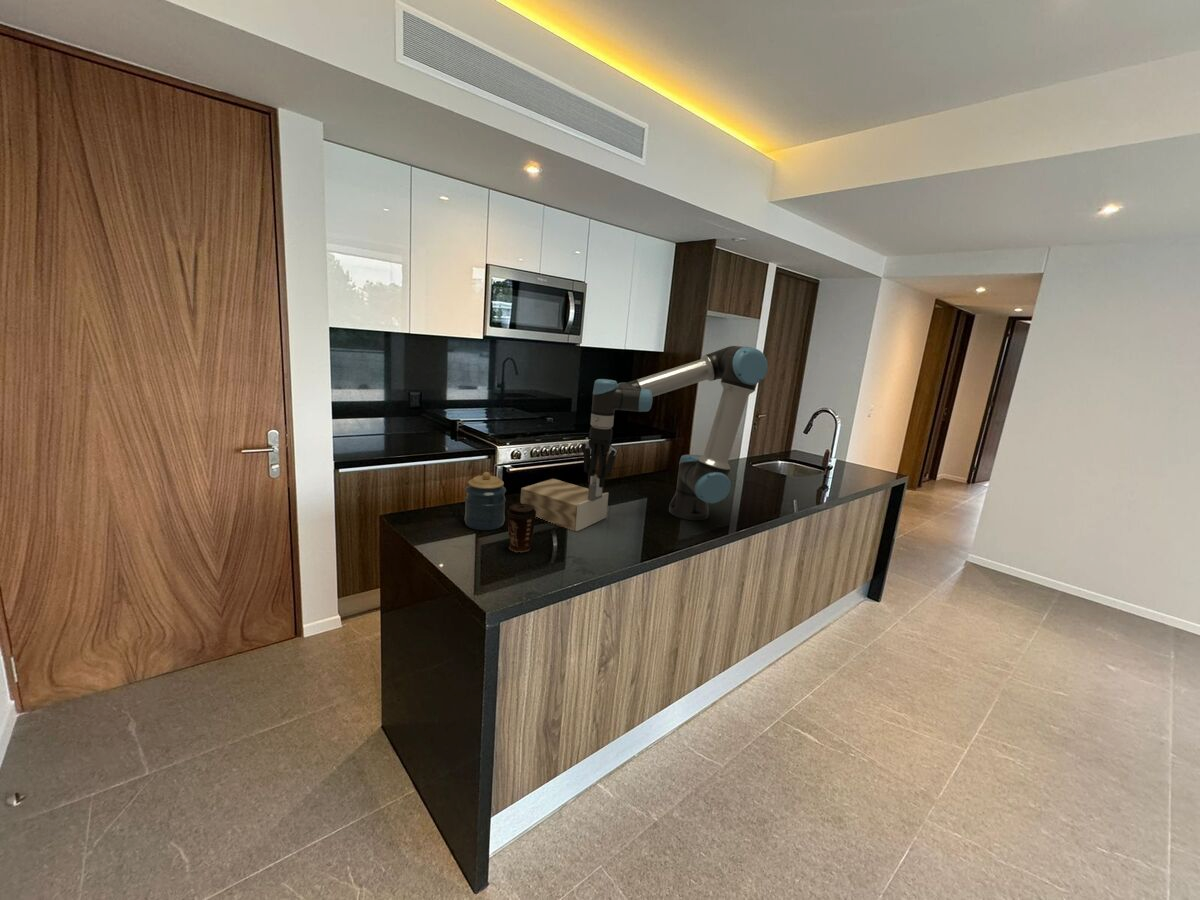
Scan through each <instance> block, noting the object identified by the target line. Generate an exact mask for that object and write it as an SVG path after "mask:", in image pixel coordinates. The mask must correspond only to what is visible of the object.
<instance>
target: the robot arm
mask: <svg viewBox="0 0 1200 900" xmlns="http://www.w3.org/2000/svg"><path fill="white" fill-rule="evenodd" d="M768 368H769V363H768V359H767V358H766V355H765V354H764V353H763V352H762V351H761V350H760V349H757V348H755V347H751V346H739V345H732V346H731V345H729V346H727V347H726V346H725V347H723V348H720V349H718V350H716V351H713V352H710V353H707V354H704V355H702V357H701V359H697V360H695V361H691V362H689V363H685V364H682V365H678V366H675V367H673V368H669V369H666V370H663V371H660V372H657V373H653V374H651V375H648V376H643V377H641V378H637V379H635V380H631V381H628V382H619V383H618V382H617V380H613V379H607V378H598V379H596V380H594V383H593V389H592V390H593V391H592V402H591V403H592V404H591V414H590V427H589V439H588V442H584V443H582V444H581V448H582V453H583V455H582V456H583V471H584V473H587V474H588V482H587V483H588V485H589V484H592V483H595V482H597V483H596V494H595V496H596V497H598V496H601V495H602V493H603V491H602V487H603V488H604V487H605V484H606V483H605V482H606V479H607V478H609V477H611V475H612V472H613V467H614V463H615V460H616V456H617V455H618V452H619V450H618V449H616V448H614V447H613V444H612V438H613V427H614V419H615V412H616V411H629V412H638V413H642V412H643V413H644V412H647V413H648V412H649V411H650V410H651V409H652V405H653V397H656V396H659V395H662V394H666V393H668V392H673V391H676V390H678V389H682V388H685V387H688V386H690V385H694V384H697V383H700V382H704V381H709V382H713V381H716V380H720V384H721V386H722V392H721V395H720V398H719V402H718V405H717V409H716V412H715V416H714V419H713V422H712V425H711V426H712V427H711V429H710V432H709V436H708V439H707V442H706V446H705V448H704V449H705V450H704V453H703V455H700V454H683V455H681V457H680V460H679V461H678V462H679V463H678V465H679V466H678V472H677V478H676V479H677V482H676V486H675V487H676V490H675V493H674V495H673V498H672V499H671V501H670V503H669V507H668V513H670V515H672V516H674V517H676V518H679V519H683V520H688V521H704V520H706V519H708V518H709V516H710V515H709V514H710V509H709V504H716V503H719V502H720V501H723V500H724V499H725V498H726V497H728V495H729V493H730V491H731V485H732V484H731V481H730V479H729V475H730V471H731V466H730V464H729V460H730V456H731V453H732V449H733V446H734V444H735V441H736V436H737V434H738V431H739V427H740V424H741V420H742V417H743V415H744V411H745V409H746V404H747V401H748V398H749V396H750V395H751V394H752V393H754V392H756V388H757V385H758V383H760V382H761V381H763V380H764V379H765V377H766V375H767V374H768V373H767V372H768V370H769V369H768ZM598 459H599V462H598ZM598 463H599V467H598V473H599V474H598V475H597V472H596V471H597V464H598Z"/></svg>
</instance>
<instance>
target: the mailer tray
mask: <svg viewBox="0 0 1200 900" xmlns="http://www.w3.org/2000/svg"><path fill="white" fill-rule="evenodd" d="M596 483H597V481H596V482H595V483H592V484H588V489H589V492H588V500H586V501H584V502H581V503H579V504H577V515H576V526H575V531H574V532H579V531H582V530H584V529H585V528H587V527H589V526H592V525H593V524H595V523H598V522H600V521H602V520H603V519H606V518H607V515H608V503H609V496H610V495H609V494H610V493H609V492H603V491H604V487H602V492H603V493H604V494H602V495H601V496H598V497H596V496H595V494H596Z"/></svg>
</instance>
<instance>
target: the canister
mask: <svg viewBox="0 0 1200 900" xmlns="http://www.w3.org/2000/svg"><path fill="white" fill-rule="evenodd" d="M467 483H468V485H467V486H466V487H465V488H464V489H465V490H464V491H465V492H466V496H465V497H464V501H465V504H464V506H465V508H464V510H465V512H464V523H465V526H466V527H468V528H470V529H473V530H478V531H492V530H497V529H499V528H502V527H503V526H504V524H505V520H506V516H505V513H506V512H505V510H506V501H507V500H506V497H505V494H506V492H507V489H506V487H504V484H505V483H504V481H503V480H502V479H500V478H499V477H498V476H495V475H491V473H490V472H489V471H484V472H483V473H482V475H477V476H474V477H473V478H471V479H469V480H468V482H467Z"/></svg>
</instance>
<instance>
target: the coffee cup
mask: <svg viewBox="0 0 1200 900" xmlns="http://www.w3.org/2000/svg"><path fill="white" fill-rule="evenodd" d="M506 516H507V522H508V523H507V529H508V530H507V531H508V537H509V541H510V542H509V543H510V544H509V546H508V549H509V550H510V551H512V552H513V551H514V552H513V553H518V552H520V553H526V552H529V551H530V550H531V549H532V541H533V537H534V532H535V523H536V521H535V520H536V519H537V518H536V511H535V509H534V506H532V505H529V504H525V503H523V504H522V503H520V502H519V503H517V502H516V503H514V504H511V505H510V506H509V508H508V509H507V511H506Z"/></svg>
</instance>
